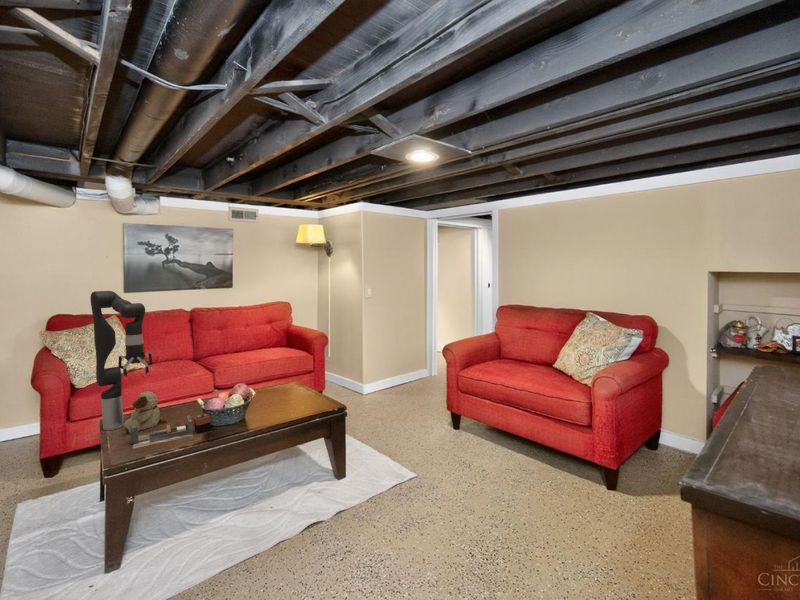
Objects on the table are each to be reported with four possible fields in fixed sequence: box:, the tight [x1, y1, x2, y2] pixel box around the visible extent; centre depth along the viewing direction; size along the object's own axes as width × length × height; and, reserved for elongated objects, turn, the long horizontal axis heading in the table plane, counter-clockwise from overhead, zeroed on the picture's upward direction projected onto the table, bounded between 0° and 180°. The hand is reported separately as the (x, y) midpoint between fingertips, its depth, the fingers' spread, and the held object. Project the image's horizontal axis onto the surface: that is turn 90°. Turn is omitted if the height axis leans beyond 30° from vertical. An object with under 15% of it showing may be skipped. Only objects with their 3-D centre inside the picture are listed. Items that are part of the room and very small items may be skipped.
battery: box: [193, 413, 212, 435], centre depth 213 cm, size 4×7×10 cm, turn 139°
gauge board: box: [132, 415, 194, 449], centre depth 206 cm, size 14×26×8 cm, turn 124°
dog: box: [123, 390, 168, 434], centre depth 221 cm, size 23×19×20 cm
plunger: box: [129, 424, 171, 445], centre depth 203 cm, size 5×17×6 cm, turn 124°
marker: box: [176, 425, 186, 432], centre depth 210 cm, size 4×4×3 cm
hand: (136, 374), depth 202 cm, fingers open, 8 cm apart
